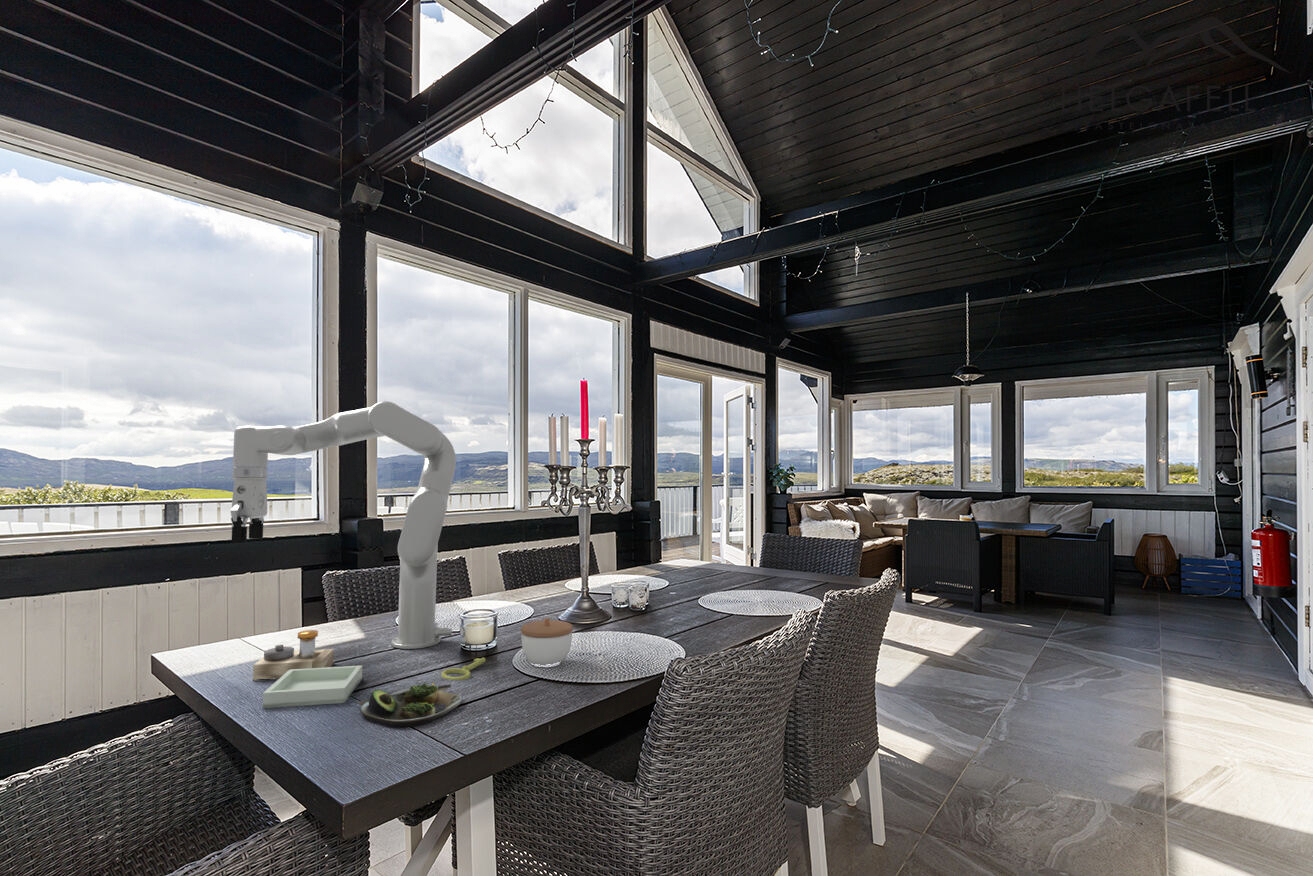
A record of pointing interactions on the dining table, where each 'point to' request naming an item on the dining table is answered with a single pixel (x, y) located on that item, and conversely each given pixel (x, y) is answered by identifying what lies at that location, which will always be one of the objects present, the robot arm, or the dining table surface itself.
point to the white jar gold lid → (307, 644)
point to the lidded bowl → (546, 641)
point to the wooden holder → (289, 662)
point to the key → (463, 670)
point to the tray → (313, 686)
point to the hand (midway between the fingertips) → (247, 540)
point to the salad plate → (408, 705)
